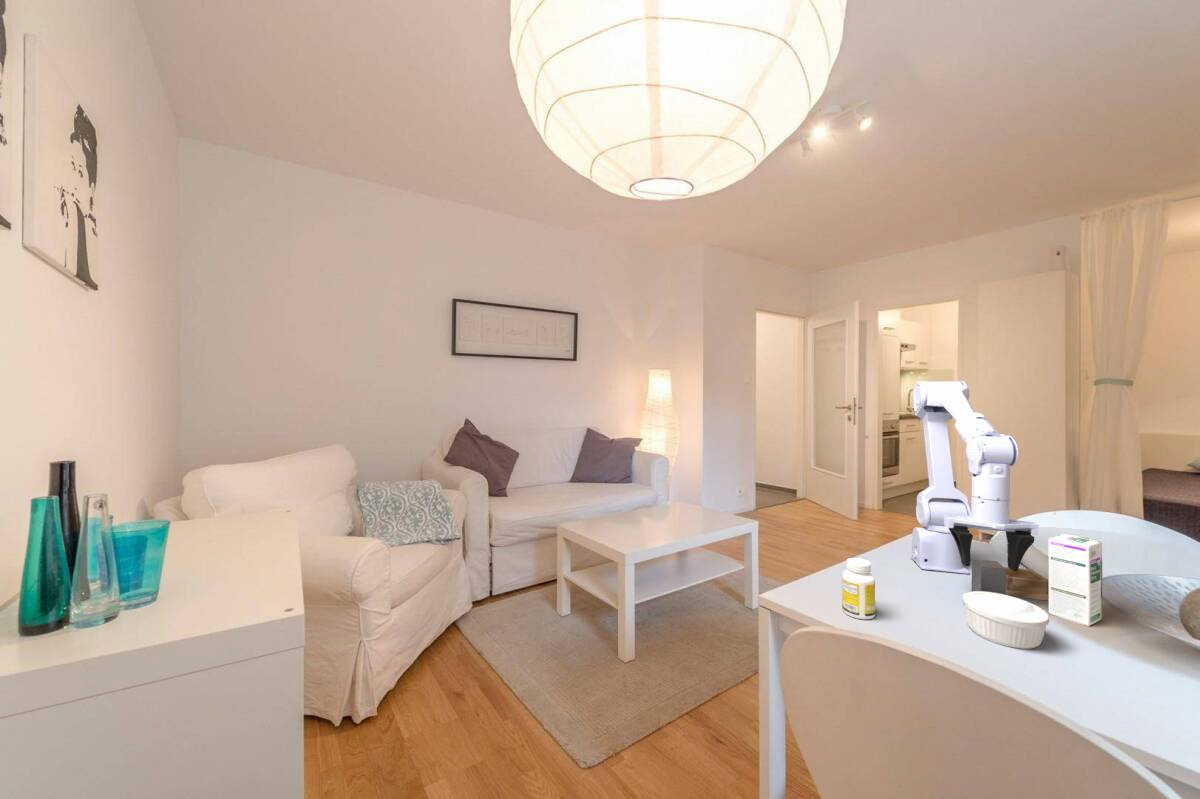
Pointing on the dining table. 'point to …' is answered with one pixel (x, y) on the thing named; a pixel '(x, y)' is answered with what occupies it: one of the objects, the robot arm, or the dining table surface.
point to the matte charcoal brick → (988, 576)
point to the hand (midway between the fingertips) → (988, 566)
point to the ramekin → (1005, 619)
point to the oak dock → (1026, 584)
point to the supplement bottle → (858, 589)
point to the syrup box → (1075, 578)
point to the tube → (1036, 561)
